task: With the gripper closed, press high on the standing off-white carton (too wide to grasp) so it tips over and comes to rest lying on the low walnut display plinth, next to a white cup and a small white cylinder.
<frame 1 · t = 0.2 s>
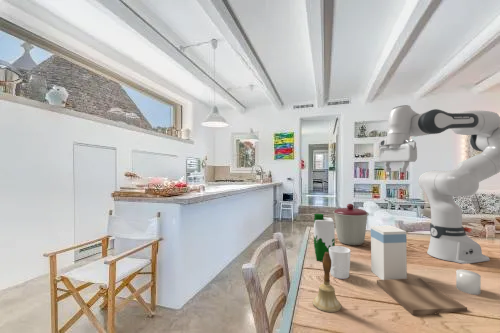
hand: (395, 172, 110), 39 cm above the table, tool pointing down, fingers open, 8 cm apart
carton: (388, 275, 93), on the table
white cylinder: (468, 291, 81), on the table
canister: (350, 242, 133), on the table
hand bell: (326, 305, 75), on the table
plinth: (416, 296, 78), on the table
milk carton: (324, 258, 111), on the table
white cup: (339, 275, 94), on the table
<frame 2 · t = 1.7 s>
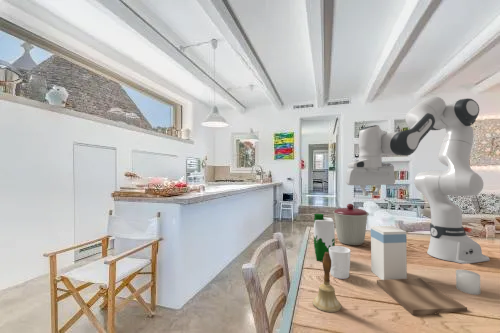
hand: (370, 195, 105), 29 cm above the table, tool pointing down, fingers open, 3 cm apart
nothing on the table moved.
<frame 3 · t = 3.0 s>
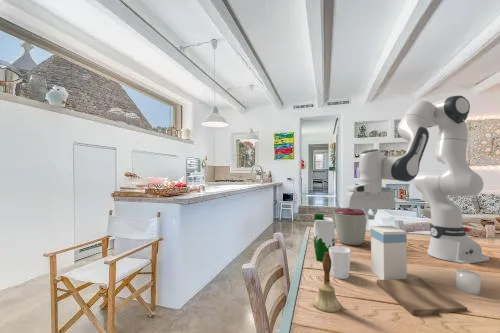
hand: (370, 219, 105), 19 cm above the table, tool pointing down, fingers closed
nothing on the table moved.
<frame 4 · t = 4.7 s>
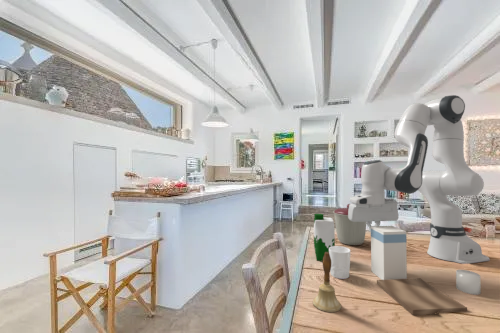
hand: (373, 231, 103), 14 cm above the table, tool pointing down, fingers closed
nothing on the table moved.
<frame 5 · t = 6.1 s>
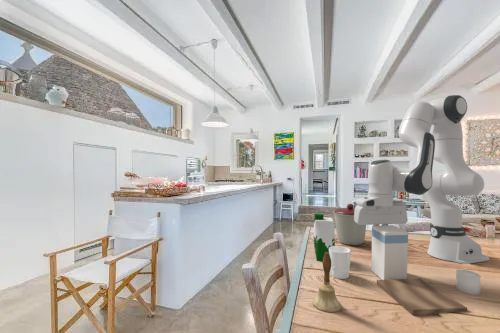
hand: (380, 235, 97), 14 cm above the table, tool pointing down, fingers closed, pressing on carton
carton: (388, 275, 93), on the table, touching gripper
everything else where it was.
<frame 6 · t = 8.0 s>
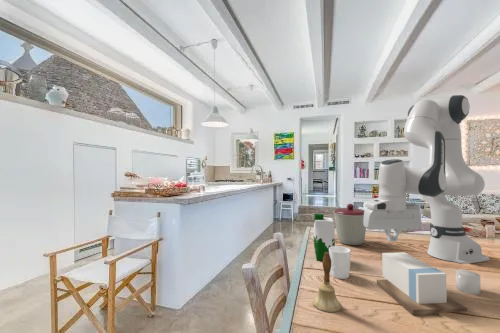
hand: (392, 240, 90), 14 cm above the table, tool pointing down, fingers closed
carton: (393, 264, 89), point 6 cm above the table, tilted 90°, touching plinth
everything else where it was.
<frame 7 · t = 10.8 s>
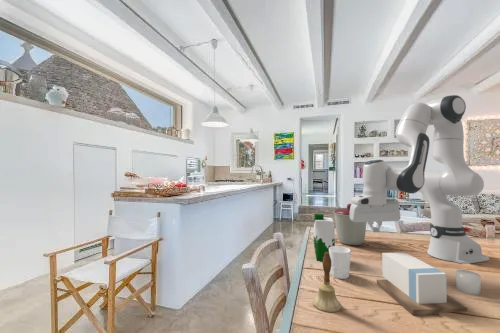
hand: (375, 231, 102), 14 cm above the table, tool pointing down, fingers closed
nothing on the table moved.
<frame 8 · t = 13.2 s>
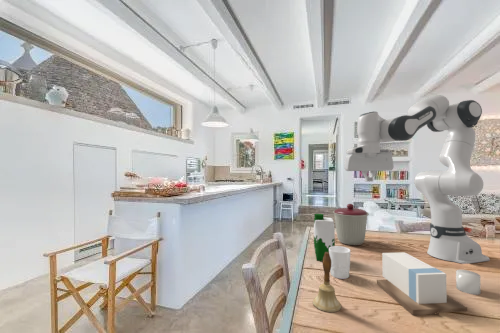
hand: (369, 181, 106), 35 cm above the table, tool pointing down, fingers closed
nothing on the table moved.
at the end: carton tilted 90°; carton inside the target area (7.6 cm from its centre), point 5.7 cm above the table; carton touching plinth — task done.
